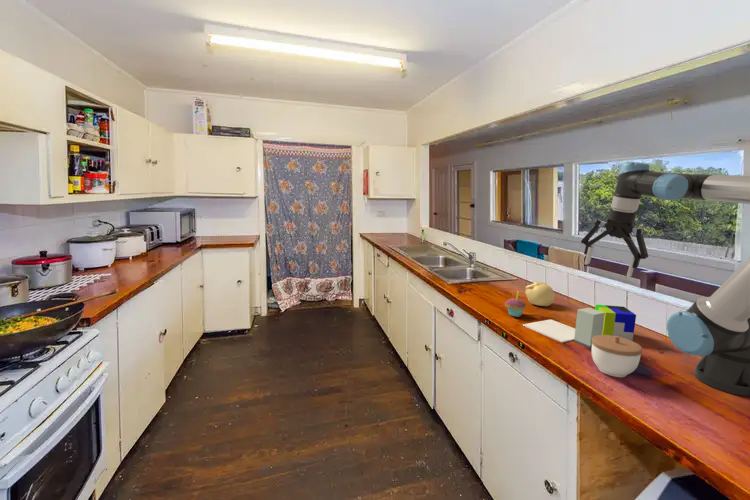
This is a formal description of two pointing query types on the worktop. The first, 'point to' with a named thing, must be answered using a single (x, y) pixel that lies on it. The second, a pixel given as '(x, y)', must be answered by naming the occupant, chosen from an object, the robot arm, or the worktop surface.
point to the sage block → (588, 326)
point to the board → (553, 330)
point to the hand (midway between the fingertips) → (607, 270)
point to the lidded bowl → (615, 355)
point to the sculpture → (540, 294)
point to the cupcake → (515, 306)
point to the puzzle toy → (617, 321)
